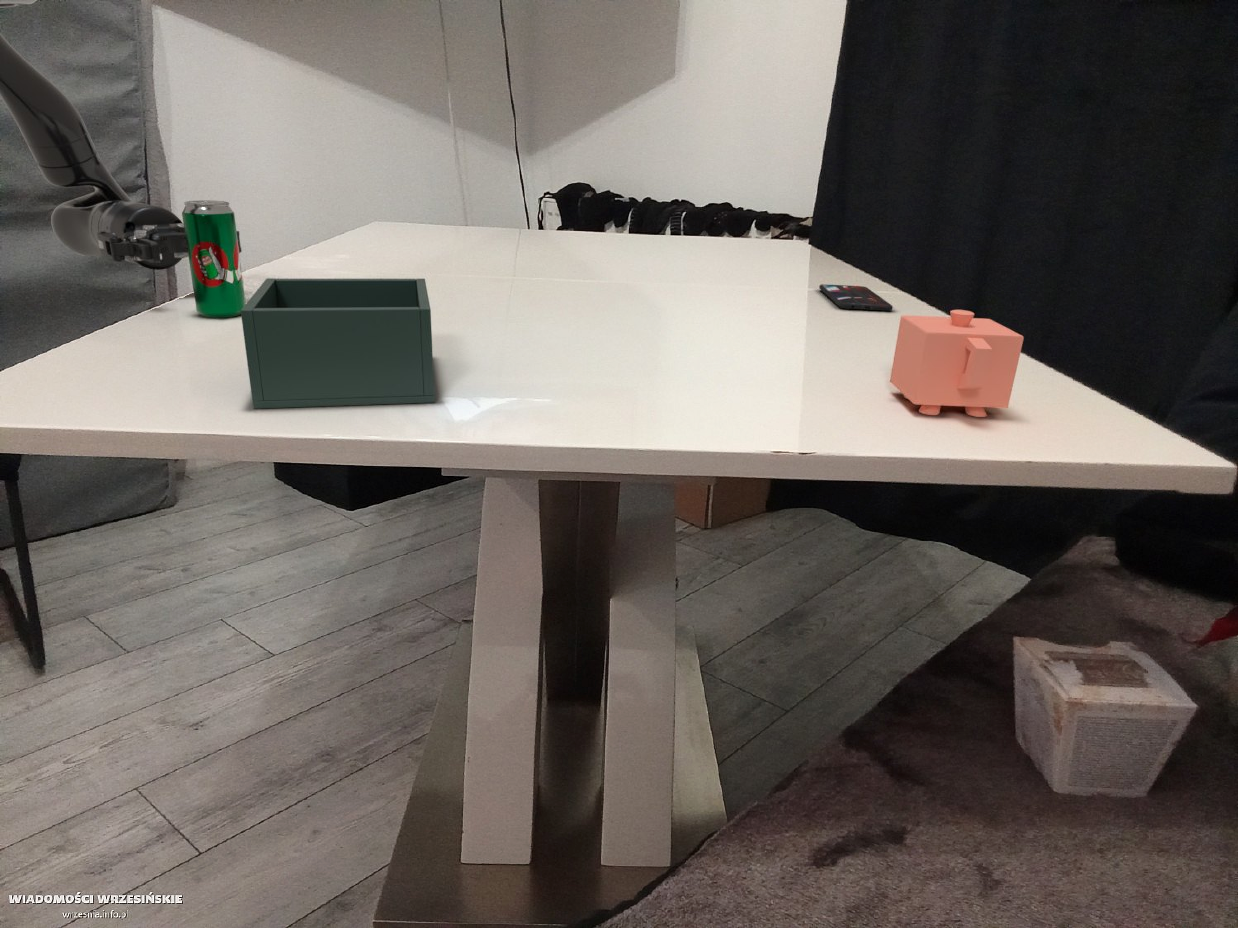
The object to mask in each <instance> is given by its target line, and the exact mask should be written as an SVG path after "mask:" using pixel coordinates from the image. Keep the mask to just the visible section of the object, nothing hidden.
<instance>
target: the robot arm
mask: <svg viewBox="0 0 1238 928" xmlns="http://www.w3.org/2000/svg"><path fill="white" fill-rule="evenodd" d="M37 1H38V0H0V9H1V8H18V7H19V8H21V7H27V6H30V5H33V4H34V3H36V2H37ZM0 98H1V100H2V101H3V103H4V104H5V106H6V108H7V109H8V111H9V113H10V114H11V116H12V118H13V119H14V122H15V123H16V125H17V127H18V129H19V131H20V133H21V135H22V137H23V139H24V141H25V143H26V145H27V147H28V149H29V151H30V153H31V155H32V156H33V159H34V161H35V163H36V165H37V166H38V170H40V172H41V174H42V176H43V177H44V179H45V180H46V181H47V182H48V183H49V184H51V185H52V186H54V187H57V188H58V187H59V188H78V187H93V188H94V191H93V192H90V193H88V194H85V195H82V196H79V197H76V198H74V199H71V200H68V201H64V202H62V203H60V204H59V205H57V206H56V207H55V208H54V209H53V211H52V213H51V216H50V224H51V228H52V232H53V233H54V235H55V237H56V238H57V239H58V241H59V242H60V243H61V244H62V245H63V246H64V247H65V248H66V249H68V250H69V251H70V252H73V253H75V254H76V255H78V256H82V257H87V258H97V257H105V258H108V259H109V260H111V261H116V262H119V263H120V262H123V261H126V262H129V263H132V264H134V265H136V266H140V267H143V268H146V269H149V270H155V271H161V270H166V269H170V268H173V267H174V266H176V265H178V264H179V263H180V262H181V260H182V259H185V258H189V257H188V250H187V243H186V237H185V230H184V223H183V221H182V220H181V219H180V218H179V217H178V215H176V214H175V213H173V212H172V211H171V210H168V209H166V208H164V207H161V206H157V205H152V204H148V203H144V202H139V201H133V200H132V199H131V198H130V197H129V196H128V194H127V193H126V192H125V191H124V190H123V189H122V188H121V186H120V185H119V184H118V183H117V182H116V179H115V178H114V177H113V176H112V175H111V173H110V172H109V169H107V167H106V166H105V164H104V162H103V160H102V159H101V157H100V155H99V153H98V151H97V149H96V146H95V144H94V142H93V140H92V137H91V135H90V133H89V131H88V128H87V126H86V124H85V122H84V119H83V118H82V116H81V114H80V112H79V111H78V109H77V108H76V106H75V105H74V104H73V102H72V101H71V100H70V99H69V98H68V97H67V96H66V95H65V93H64V92H63V91H62V90H61V89H60V88H58V87H57V86H56V85H55V84H54V83H53V82H52V81H51V80H50V79H49V78H48V77H46V76H45V75H44V74H43V73H41V72H40V71H39V70H38V69H36V67H34V66H33V65H32V64H31V63H30V62H29V61H27V59H25V58H24V57H23V56H22V55H21V54H20V53H19V52H18V51H17V50H16V49H15V48H14V46H12V45H11V44H10V42H9V41H8V40H7V39H6V38H5V37H4V36H3V34H2V33H1V32H0ZM236 231H237V239H238V247H239V254H241V253H242V246H241V239H240V231H239V230H236Z"/></svg>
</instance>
